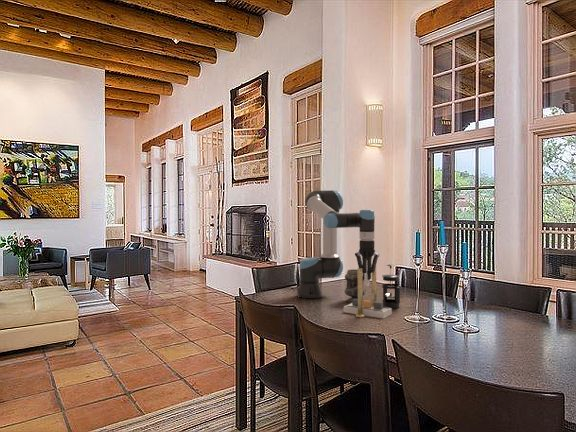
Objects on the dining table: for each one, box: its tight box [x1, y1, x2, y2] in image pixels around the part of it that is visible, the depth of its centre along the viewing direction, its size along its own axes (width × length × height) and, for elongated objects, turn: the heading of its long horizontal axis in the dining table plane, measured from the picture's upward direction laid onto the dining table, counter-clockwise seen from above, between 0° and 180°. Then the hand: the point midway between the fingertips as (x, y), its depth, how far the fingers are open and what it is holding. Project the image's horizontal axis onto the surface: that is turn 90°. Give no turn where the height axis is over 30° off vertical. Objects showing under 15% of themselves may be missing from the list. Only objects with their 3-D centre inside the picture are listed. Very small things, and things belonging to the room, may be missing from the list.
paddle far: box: [374, 301, 383, 309], centre depth 211 cm, size 4×2×3 cm, turn 53°
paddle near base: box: [352, 299, 358, 306], centre depth 218 cm, size 4×2×3 cm, turn 53°
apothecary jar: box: [343, 268, 366, 304], centre depth 242 cm, size 12×12×18 cm
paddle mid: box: [363, 299, 372, 308], centre depth 214 cm, size 4×2×3 cm, turn 53°
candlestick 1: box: [355, 267, 366, 319], centre depth 208 cm, size 4×4×24 cm
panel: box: [343, 302, 393, 319], centre depth 214 cm, size 22×10×3 cm, turn 53°
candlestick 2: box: [371, 267, 377, 305], centre depth 220 cm, size 4×4×24 cm
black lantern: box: [381, 264, 401, 310], centre depth 226 cm, size 12×9×23 cm
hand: (366, 285), depth 214 cm, fingers closed
